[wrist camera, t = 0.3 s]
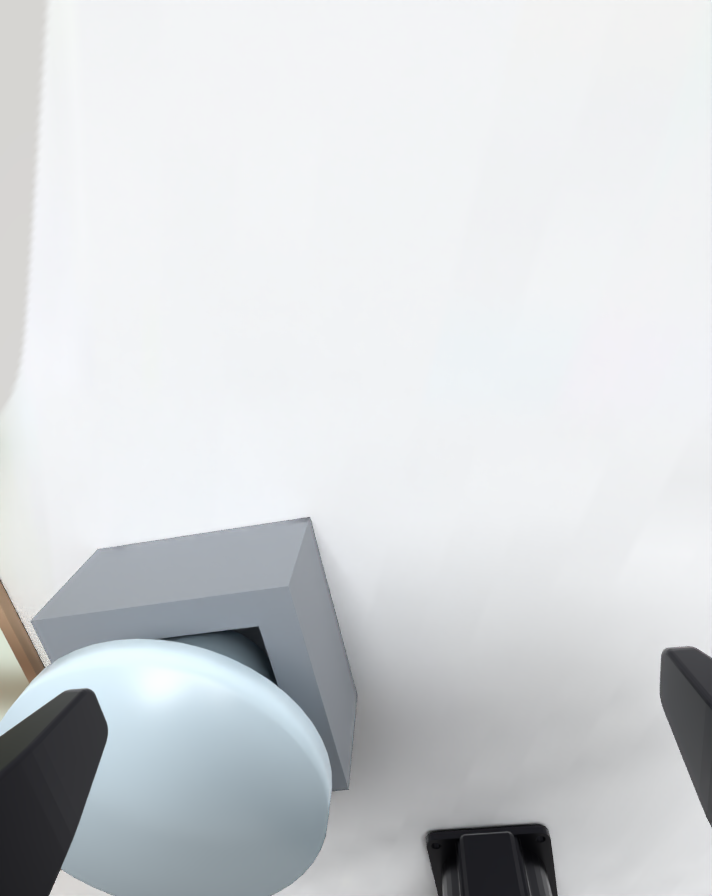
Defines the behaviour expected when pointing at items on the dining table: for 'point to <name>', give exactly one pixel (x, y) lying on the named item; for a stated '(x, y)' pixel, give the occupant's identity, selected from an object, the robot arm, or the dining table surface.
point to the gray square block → (222, 612)
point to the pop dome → (192, 768)
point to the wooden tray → (14, 655)
